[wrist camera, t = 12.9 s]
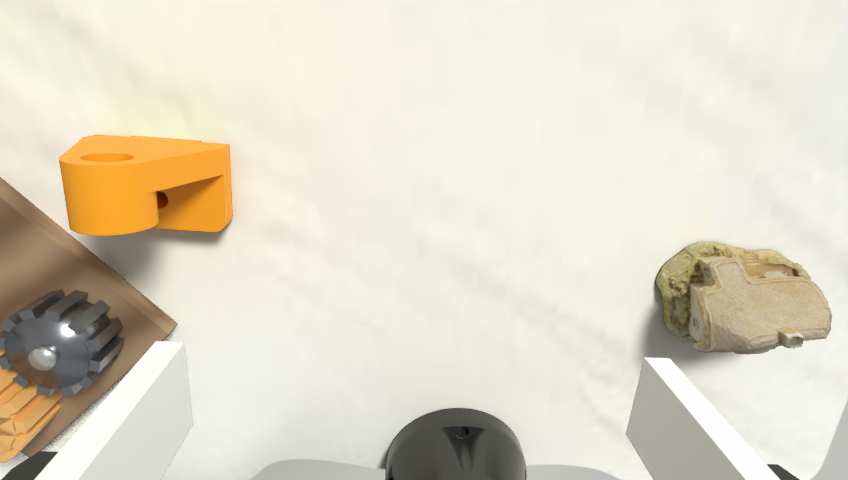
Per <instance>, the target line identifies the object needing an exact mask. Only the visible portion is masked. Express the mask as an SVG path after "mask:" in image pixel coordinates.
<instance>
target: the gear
mask: <svg viewBox="0 0 848 480" xmlns="http://www.w3.org/2000/svg"><path fill="white" fill-rule="evenodd" d="M87 300H88V293H87V292H83V291H79V290H74V291H73V292H71V293H70V294H68V295H67V296H66V295H65V293H64V291H63V289H60V290H55V291H50V292H49V293H47V294H46V295H44V296H43V297H39V298H37V299H36V300H34V301H33V302H31V303H30V304H28V305H27V306H25V307H24V308H22V309H20V310H19V311H17V312H16V313H14V314H13V315H11V316H10V317H8V318H7V319H6V320H5V321H4V322H3V323H2V324H1V325H0V327H1V328H2V329H4V330H3V331H2V332H0V349H3V350H5V353H4V354H3V355H1V356H0V366H1V368H2V369H3V370H4V369H9V368H13V369H14V370H15V372H17V373H18V374H17V375H16V376H15V377H14V378H13V379H12V380H13V381H15V382H16V383H17V384H19V385H20V386H22V387H25V386H26V385H27V384H28V383H29V382H30V383H32V384H35V385H37V391H36V394H41V395H45V396H49V397H50V396H51V395H52V394H53V393H54V392H55V391H56V390H57V389H59V390H60V392H61V394H62V396H63V397H65V396H70V395H75V394H76V393H77V392H78V391H79V390H80V389H81V388H82V387H83V388H84V389H87V388H88V387H89V386H90V385H91V384H92V383H93V382H94V381H95V380H96V379H97V378H98V377H99V376H100V375H101V374H102V373H103V372H104V371H105V370H106V369H107V368H108V367H109V366H110V365H111V364H112V363H113V362H114V361H115V359H116V358H117V357H118V356H117V354H118V353H119V352H120V351H121V349H122V348H123V346H124V340H125V338H123V337H119V336H115V335H116V334H117V333H118V332H119V331H120V330H121V329H122V328H123V326H122V323H121V321H120V319H119V317H115V318H110V319H109V317H108V316H107V315H106V314H105V312H106V311H107V310H108V309H109V308H110V306H109V305H107V304H106V303H105V302H104V301H102V300H101V299H100V300H99V301H97V302H96V303H95V304H92V303H90V302H88V301H87Z"/></svg>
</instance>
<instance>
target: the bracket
mask: <svg viewBox="0 0 848 480" xmlns="http://www.w3.org/2000/svg"><path fill="white" fill-rule="evenodd" d="M59 162H60V168H61V175H62V181H63V187H64V194H65V200H66V207H67V213H68V219H69V226H70V229H71V230H72V231H74V232H77V233H80V234H86V235H98V236H108V235H122V234H129V233H135V232H139V231H143V230H147V229H149V228H157V229H173V230H189V231H205V232H218V231H221V230H222V229H223V228H224V227H225V226H226V225H227V224H229V223H230V222H231V220H232V216H233V214H232V191H231V169H230V146H229V144H216V143H202V142H201V141H197V140H183V139H170V138H157V137H143V136H131V137H122V136H109V135H93V136H88V137H84V138H82V139H81V140H80V141H79V142H77V143H76V144H75V145H74V146H73V147H71V148H70V149H69V150H68V151H67V152H65V153H64V154H63V155H62V156H61V157H60V158H59ZM163 193H164V194H165V195H166V196H167V198H168V199H167V198H166V197H165V196H164V194H163Z"/></svg>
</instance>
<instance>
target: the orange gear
mask: <svg viewBox="0 0 848 480" xmlns="http://www.w3.org/2000/svg"><path fill="white" fill-rule="evenodd" d="M4 353H5V352H0V356H1V355H3V354H4ZM17 374H18V373H17V372H15V370H14V369H13V368H9V369H4V370H3V369H2V368H1V366H0V461H1V462H2V463H4V462H6V461H8V460H10V459H12V458H13V457H14V456H15V455H16V454H17V453H18V452H19V451H21V450H22V449H23V448H24V447H25V446H26V445H27V444H28V443H29V442H30V441H31V440H32V439H33V438H34V437H35V436H36V435H37V434H38V433H39V432H40V431H41V430H42V429H43V428H44V427H45V426H46V425H47V424H48V423H49V422H50V420H51V419H52V418H53V417H54V416H55V415H56V414H57V413H58V411H59V409H60V407H61V405H59V404H56V402H57V401H59V400H60V399H61V398H62V397H63V396H62V394H61V392H60V390H59V389H57V390H56V391H55V392H54V393H53V394H52V395H51V396H50V397H49V396H45V395H41V394H36V391H37V385H35V384H32V383H30V382H29V383H28V384H27V385H26V386H25V387H22V386H20V385H19V384H17V383H16V382H15V381H13V380H12V379H13V378H14V377H15V376H16V375H17Z"/></svg>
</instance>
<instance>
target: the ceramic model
mask: <svg viewBox="0 0 848 480" xmlns="http://www.w3.org/2000/svg"><path fill="white" fill-rule="evenodd" d="M810 279H811V277H810V276H809V275H808V273H807V272H806V271H805V270H804V269H803V268H802V266H801V265H800V264H798V263H793V262H791V261H789V260H788V259H786V258H785V257H784V256H782V255H781V254H780V253H778V252H776V251H773V250H755V251H750V250H745V249H742V248H737V247H732V246H728V245H724V244H721V243H718V242H697V243H695V244H692V245H690V246H688V247H686V248H685V249H684V250H683V251H681V252H679V253H678V254H677V255H676V256H675V257H673V258H671V259H670V260H669V261H668V262H667V263H666V264H665V265H664V266H663V267H662V269H661V270H660V272H659V274H658V276H657V278H656V285H657V286H658V288H659V290H660V292H661V297H662V301H663V308H664V309H663V314H664V323H665V325H666V327H667V329H668V330H669V331H670V332H671V333H673V334H674V335H676V336H678V338H679V339H680V340H682V341H687V342H693V343H694V344H693V349H694V350H698V351H701V352H735V353H737V354H759V353H765V352H768V351H769V350H771V349H775V347H778V346H781V345H783V346H784V347H786V348H798V347H801V346H802V344H803V341H808V340H817V339H825V338H827V335H828V334H829V332H830V330H831V320H832V314H831V311H830V308H829V307H828V302H827V300H826V299H825V297H824V295H823V292H822V291H821V290H820V288H819V287H818V286H817V285H816V284H815V283H813V282H812V281H810Z"/></svg>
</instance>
